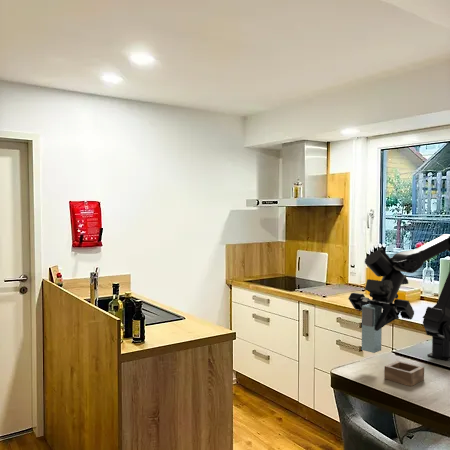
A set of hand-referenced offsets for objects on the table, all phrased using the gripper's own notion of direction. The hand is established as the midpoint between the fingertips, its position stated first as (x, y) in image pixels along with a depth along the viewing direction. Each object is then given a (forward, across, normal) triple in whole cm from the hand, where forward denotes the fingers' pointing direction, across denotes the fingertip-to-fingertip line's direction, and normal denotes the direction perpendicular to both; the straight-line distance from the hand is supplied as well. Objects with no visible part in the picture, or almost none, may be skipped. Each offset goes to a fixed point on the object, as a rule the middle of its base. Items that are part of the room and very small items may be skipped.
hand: (369, 328), depth 134 cm
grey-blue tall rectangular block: (+4, 0, +6) cm, 7 cm away
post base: (+8, +10, +10) cm, 16 cm away
